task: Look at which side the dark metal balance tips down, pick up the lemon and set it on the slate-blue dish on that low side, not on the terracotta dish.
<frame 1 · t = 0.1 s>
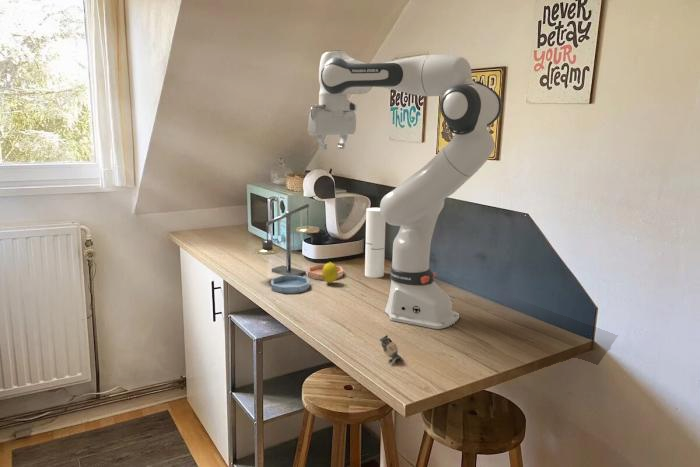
hand: (332, 149, 175), 48 cm above the table, tool pointing down, fingers open, 8 cm apart
blue dish: (290, 287, 189), on the table
balance: (288, 273, 205), on the table
lemon: (329, 284, 193), on the table
terracotta dish: (325, 274, 203), on the table
grey brown knobbly figurine: (388, 359, 136), on the table
cylindrical container: (374, 275, 205), on the table
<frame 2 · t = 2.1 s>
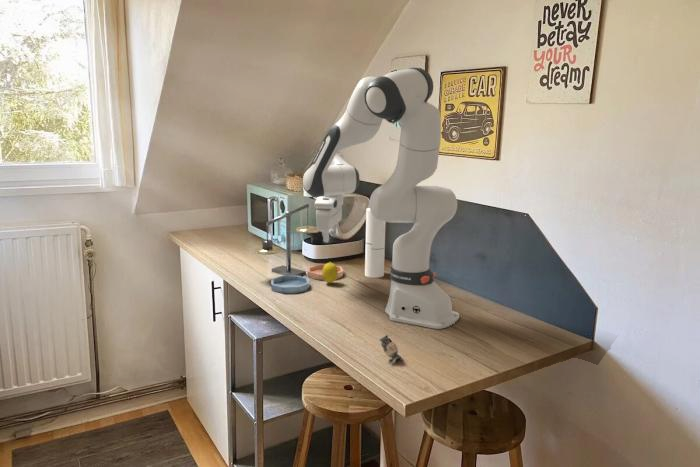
hand: (329, 238, 190), 16 cm above the table, tool pointing down, fingers open, 8 cm apart
nothing on the table moved.
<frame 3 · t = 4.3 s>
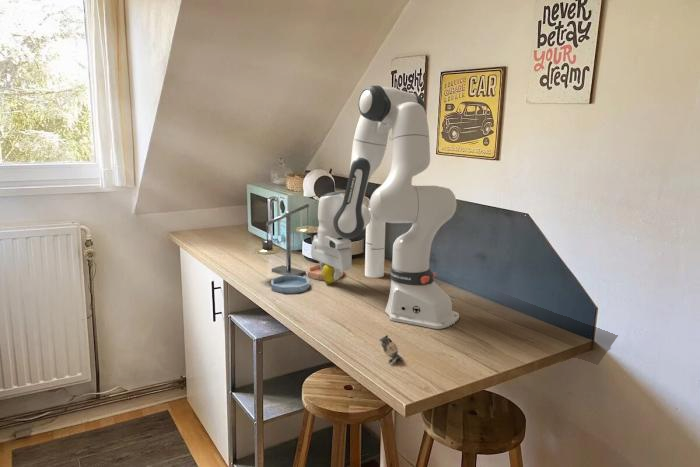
hand: (330, 276, 193), 3 cm above the table, tool pointing down, fingers closed on lemon, 5 cm apart
lemon: (329, 284, 193), on the table, touching gripper
everything else where it was.
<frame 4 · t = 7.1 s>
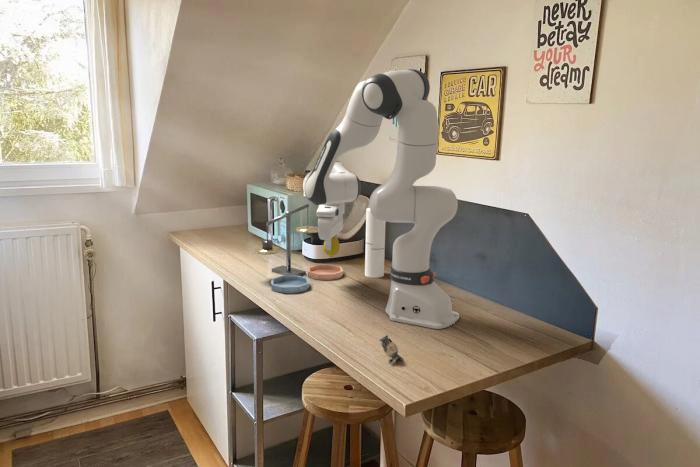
hand: (331, 247, 190), 13 cm above the table, tool pointing down, fingers closed on lemon, 5 cm apart
lemon: (331, 257, 191), point 10 cm above the table, touching gripper
everything else where it was.
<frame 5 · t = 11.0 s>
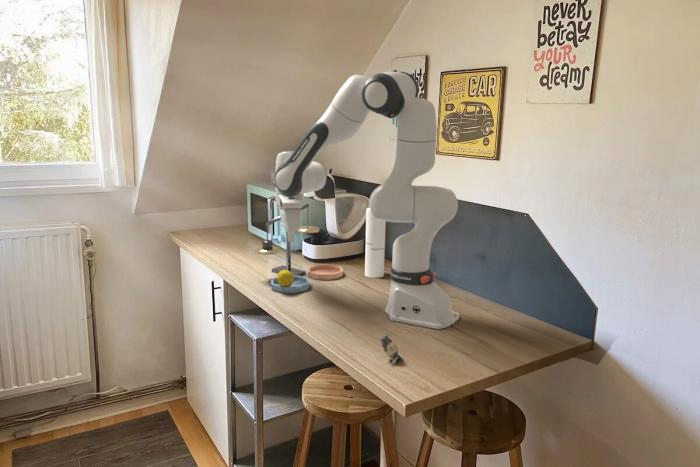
hand: (289, 239, 185), 17 cm above the table, tool pointing down, fingers open, 5 cm apart
lemon: (287, 283, 187), point 2 cm above the table, touching blue dish
everything else where it was.
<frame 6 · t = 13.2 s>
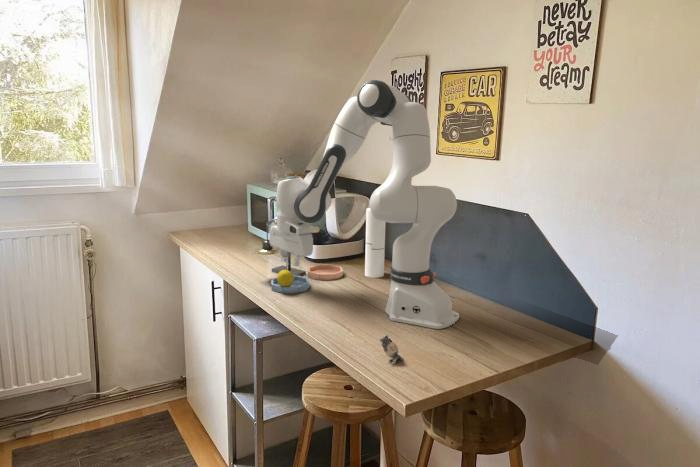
hand: (290, 263, 187), 8 cm above the table, tool pointing down, fingers open, 5 cm apart
nothing on the table moved.
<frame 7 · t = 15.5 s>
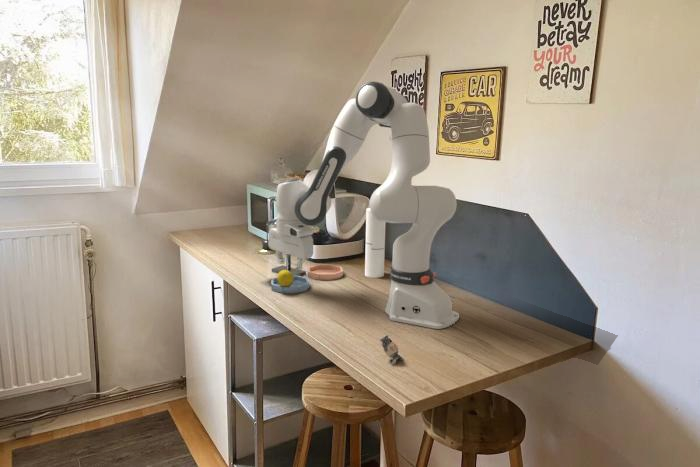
hand: (290, 266, 187), 8 cm above the table, tool pointing down, fingers open, 8 cm apart
nothing on the table moved.
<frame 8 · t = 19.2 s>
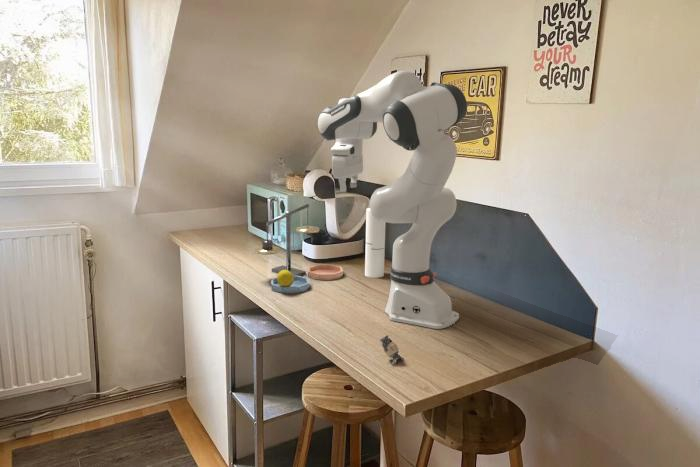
hand: (348, 189, 184), 34 cm above the table, tool pointing down, fingers open, 8 cm apart
nothing on the table moved.
at the end: lemon 1.4 cm from the blue dish (horizontally); lemon touching blue dish; the gripper is holding nothing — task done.
